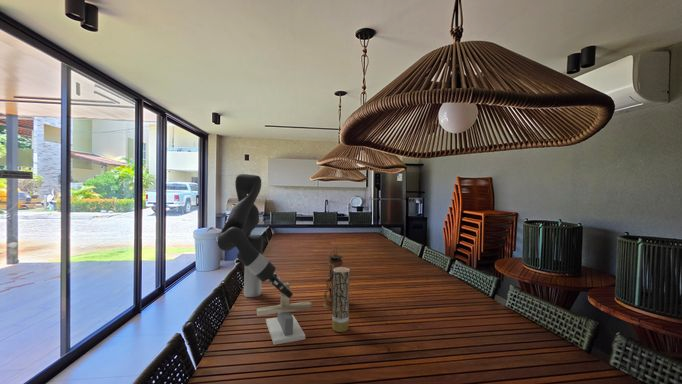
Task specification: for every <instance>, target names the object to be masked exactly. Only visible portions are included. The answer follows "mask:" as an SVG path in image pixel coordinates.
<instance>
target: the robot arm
mask: <svg viewBox="0 0 682 384" xmlns="http://www.w3.org/2000/svg"><path fill="white" fill-rule="evenodd" d="M234 184H235V191H236V196H237V201H238V202H237V203H236V204H235V205H234V206H233V207H232V209H231V210H230V213H229V216H228V218H227V221H226V223H225V225H224V226H223V228H222V229H221V230H220V233H219V235H218V238H217V246H218V248H219V249H220V250H221V251H224V252H226V251H227V252H229V251H231V250H233V249H235V248H236V249H237V250H238V253H237V254H236V258H237V259H238V261H240V262H241V263H242V264H243V266H244V275H243V279H244V281H243V282H244V283H243V296H244V297H246V298H255V297H259V296H261V295H262V282H263V283H264V282H267V280H268V282H269V284H270V285H272V286H273V287H274V288H275V289H276V290H278V291H279V292H280V294H281V293H284V294H285V295H286V296H287V297H288V298H289V299H291V298H292V296H293V295H294V293H293V292H292V291H289V290H288V289H287V287H286V286H285V285H284V283H285V282H284V281H283V280H282V279H281V277H280V276H279V275H278V274H277V273H275V271H276V266H275V265H274V264H273V263H272V262H271V261H270V260H269V259H268V258H267V257H266V256H265V255H263V249H264V248H263V246H264V237H263V235H262V234H251V233H252V231H253V230H254V229H255V228H256V227H257V226H258V224H259V222H260V213H259V208H258V207H257V205H255V202H256V200H257V198H258V196H259V195H260V192H261V189H262V178H261V176H259V175H256V174H255V175H254V174H247V173H239V174H237V176H236V177H235V181H234ZM281 286H283V287H284V288H283V289H282V290H281Z"/></svg>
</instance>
